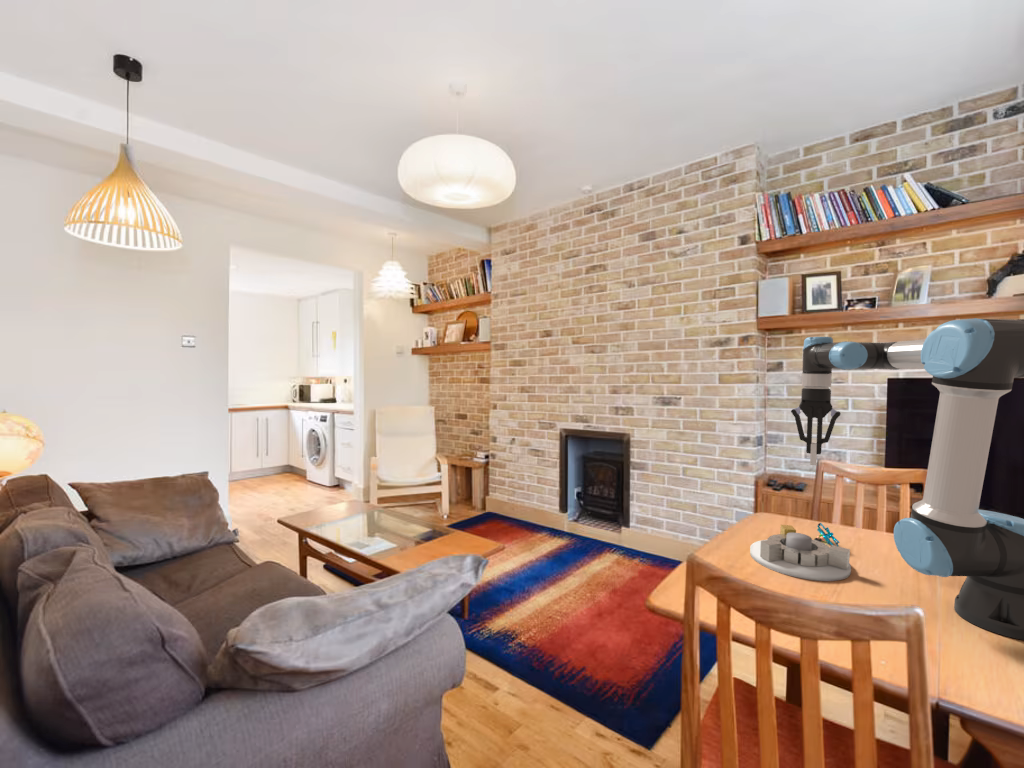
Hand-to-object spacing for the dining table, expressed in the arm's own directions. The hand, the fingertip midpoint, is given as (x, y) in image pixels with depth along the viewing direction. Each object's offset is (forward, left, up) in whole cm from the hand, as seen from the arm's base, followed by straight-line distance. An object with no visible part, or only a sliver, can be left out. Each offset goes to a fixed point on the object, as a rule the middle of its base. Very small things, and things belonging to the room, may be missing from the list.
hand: (813, 464), depth 144 cm
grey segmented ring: (-12, +12, -23) cm, 28 cm away
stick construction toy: (-1, -3, -25) cm, 25 cm away
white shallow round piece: (-14, +12, -24) cm, 31 cm away
